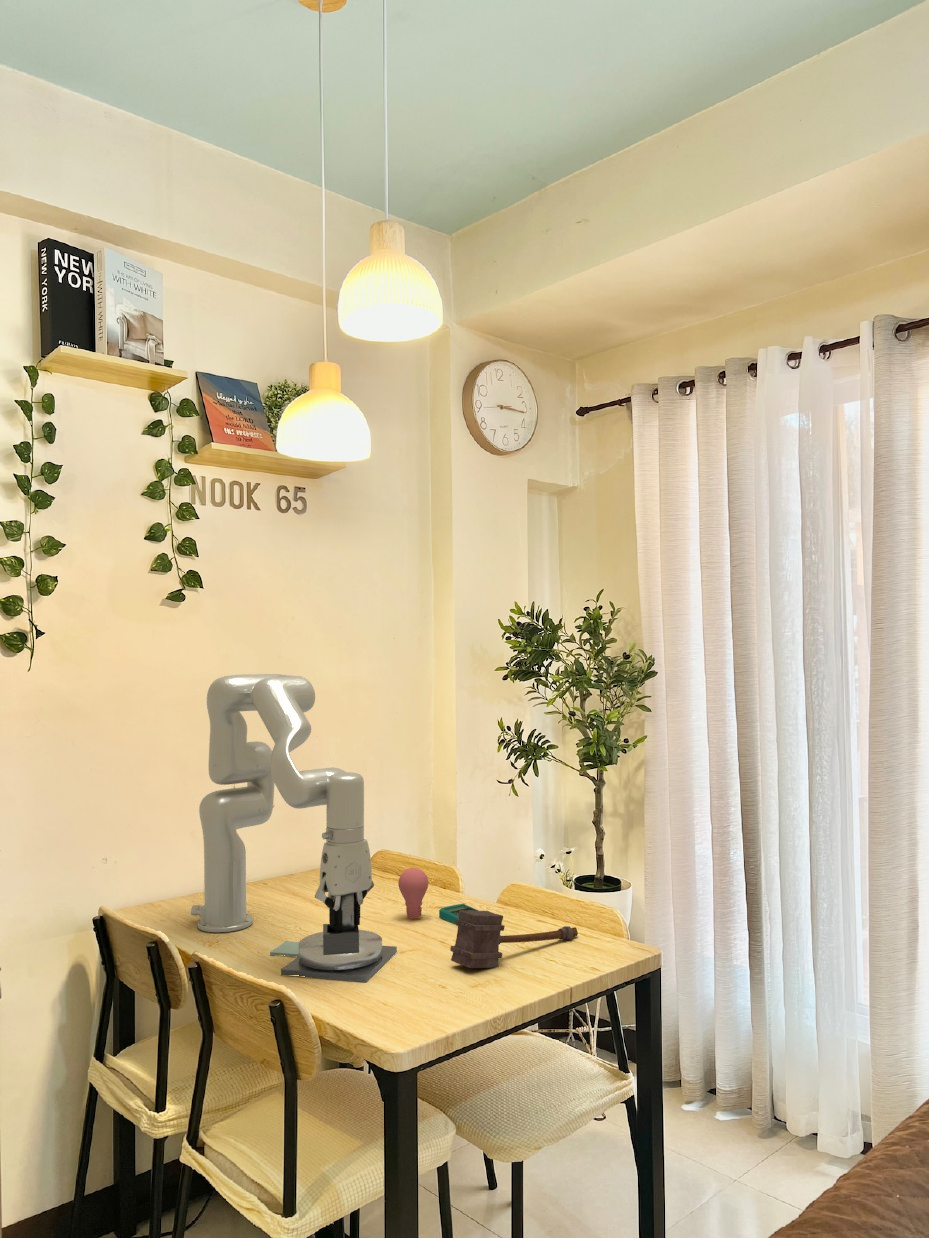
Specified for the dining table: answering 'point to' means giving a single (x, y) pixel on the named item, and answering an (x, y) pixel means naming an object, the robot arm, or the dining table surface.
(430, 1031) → the dining table surface
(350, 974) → the base
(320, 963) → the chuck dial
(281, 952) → the mat
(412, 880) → the light bulb
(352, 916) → the chrome capsule
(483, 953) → the hammer
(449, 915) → the digital multimeter
